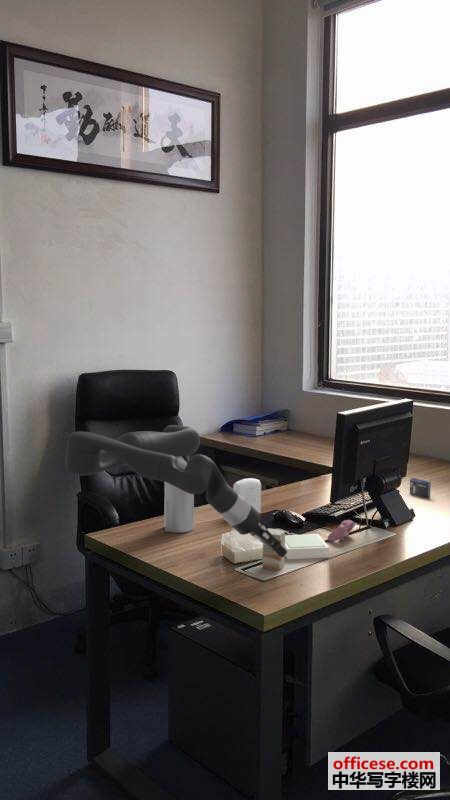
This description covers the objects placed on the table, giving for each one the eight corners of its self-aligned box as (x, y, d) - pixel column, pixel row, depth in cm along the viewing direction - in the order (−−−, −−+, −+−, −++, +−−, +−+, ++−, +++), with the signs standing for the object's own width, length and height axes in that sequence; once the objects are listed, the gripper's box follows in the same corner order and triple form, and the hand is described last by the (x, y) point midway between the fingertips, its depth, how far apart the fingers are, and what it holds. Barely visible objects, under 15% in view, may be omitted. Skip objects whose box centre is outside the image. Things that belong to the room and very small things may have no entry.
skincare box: (261, 568, 197) (262, 532, 196) (267, 562, 201) (267, 527, 200) (279, 570, 195) (280, 534, 193) (285, 565, 199) (285, 530, 197)
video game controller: (338, 548, 217) (348, 529, 215) (325, 539, 219) (335, 521, 217) (350, 539, 226) (360, 521, 223) (337, 530, 228) (347, 513, 225)
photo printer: (255, 510, 252) (255, 475, 250) (262, 513, 248) (263, 478, 246) (230, 515, 246) (230, 479, 244) (238, 518, 242) (238, 482, 241)
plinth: (287, 559, 203) (287, 548, 203) (278, 545, 215) (278, 535, 215) (329, 557, 205) (329, 546, 205) (317, 543, 217) (318, 533, 216)
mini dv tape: (409, 493, 274) (410, 478, 273) (412, 493, 275) (412, 477, 274) (427, 498, 267) (428, 482, 266) (430, 497, 268) (430, 481, 267)
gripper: (219, 516, 197) (257, 551, 203) (240, 532, 184) (280, 569, 190) (237, 495, 199) (274, 531, 205) (259, 509, 186) (298, 546, 192)
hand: (277, 549), depth 197 cm, fingers open, 8 cm apart
